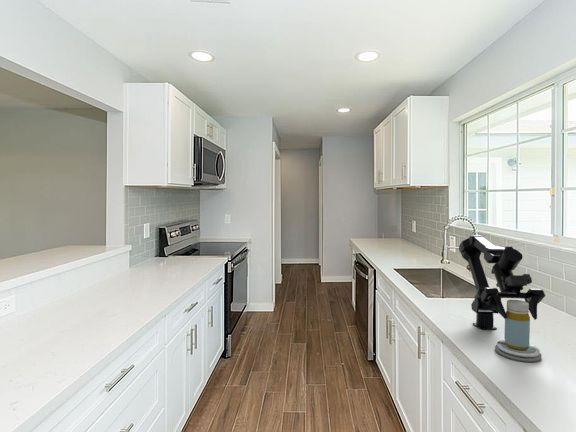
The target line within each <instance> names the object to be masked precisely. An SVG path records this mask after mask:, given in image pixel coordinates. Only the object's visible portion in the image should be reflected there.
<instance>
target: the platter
mask: <svg viewBox="0 0 576 432" xmlns="http://www.w3.org/2000/svg"><path fill="white" fill-rule="evenodd" d="M496 345H497V348H498V349H499V350H500V351H502V352H504V353H506V354H509V355H513V356H517V357H523V358H535V357H538V356H539V355H540V353H541V351H540V349H539V348H538V347H536V346H535V345H533V344H530V343H529V348H528V349H527V350H516V349H512V348H509V347H508V346H506V344H505V343H504V339H501V340H499V341H497V342H496Z"/></svg>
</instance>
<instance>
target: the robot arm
mask: <svg viewBox="0 0 576 432" xmlns="http://www.w3.org/2000/svg"><path fill="white" fill-rule="evenodd" d="M458 250H459V251H458V252H459V253H460V255H461V257H462V258H463V259H464V261H466V262H467V263H468V267H469V270H470V273H471V275H472V276H471V277H472V280H473V282H474V286H475V289H476V292H475V295H474V299H473V300H472V302H471V311H473V312H474V313H476V314H475V315H476V317H475V318H476V320H475V322H472V325H473V326H475V327H477V328H479V329H480V330H497V329H498V327H497V326H494V314H498V315H499V314H500V316H501V317H502V318H504V320H505V319H506V318H507V315H506V309H505V308H504V305H503V303H502V299H520V300H521V299H522V300H523V299H524V301H525V302H527V303H529V310H528V311H529V313H530V316H531V317H532V319H533V320H535V321H536V320H538V304H539V303H540V302H542V301H543V299H544V298H546V293H545V291H544V290H543V289H542V288H529V289H528V290H527V292H521V291H523V290H524V287H525V286H526V287H527V286H528V285H530V284H532V283H533V281H532V280H533V279H532V276H531V275H530V273H523V274H521V275H516V274H515V275H514V272H513V271H515V269H516V268H517V267H518V266H519V264H520V263H521V261H522V260H523V257H524V256H523V254H522V253H521V252H520V251H519V250H517V249H515V248H513V246H511V245H508V246H507V245H506V246H505V247H502V246H495V245H494V244H492V243H491V242H490V241H489V240H488V239H486V238H485V236H484V235H480V234H479V235H470V236H469V237H468V238H466V239H464V240H462V241H461V243H460V244H459V245H458ZM481 254H483V259H484V260H485V262H486V263H487V264H493V266H492V269H491V272H490V273H491V274H492V275H493V274H494V278H495V280H496V284H495V285H496V287H490V285H489V282H488V279H487V276H486V273H485V270H484V267H483V265H482V261H481V259H480V258H481Z"/></svg>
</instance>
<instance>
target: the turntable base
mask: <svg viewBox="0 0 576 432" xmlns="http://www.w3.org/2000/svg"><path fill="white" fill-rule="evenodd" d="M494 351H495V353H497V355H499V356H501V357H503V358H505V359H508V360H510V361H515V362H520V363H527V364H528V363H530V364H532V363H539V362H541V360H542V354H541V352H540V355H539V356H538V357H535V358H523V357H517V356H513V355H509V354H506V353H504V352H502V351H500V350H499V349H498V348H497V344H496V345H495V346H494Z"/></svg>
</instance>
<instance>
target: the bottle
mask: <svg viewBox="0 0 576 432" xmlns="http://www.w3.org/2000/svg"><path fill="white" fill-rule="evenodd" d="M505 312H506V315H507V318H506V319H504V338H503V340H504V343H505V344H506V346H508V347H509V348H512V349H516V350H527V349H528V348H529V344H530V333H531V332H530V331H531V317H530V316H531V315H530V314H529V313H530V311H529V303H527V302H525V300H521V299H520V300H519V299H508V300H507V301H506V310H505Z"/></svg>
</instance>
